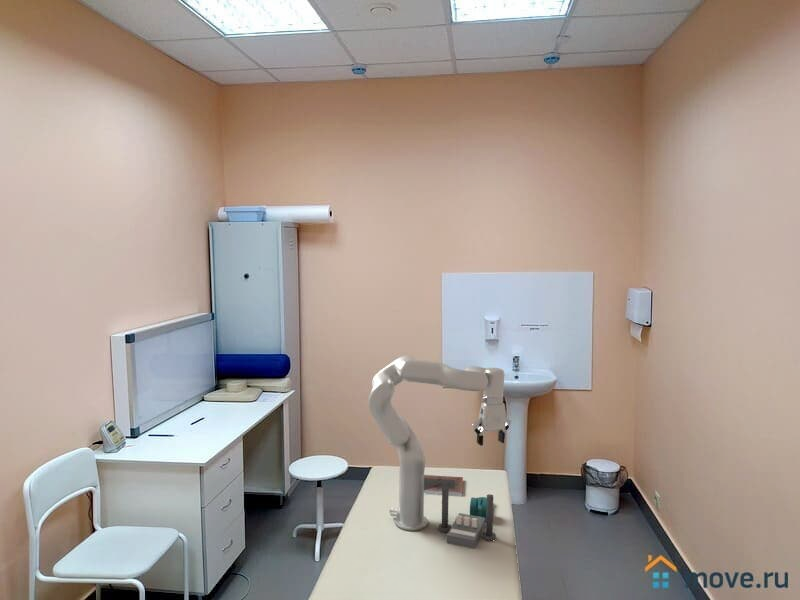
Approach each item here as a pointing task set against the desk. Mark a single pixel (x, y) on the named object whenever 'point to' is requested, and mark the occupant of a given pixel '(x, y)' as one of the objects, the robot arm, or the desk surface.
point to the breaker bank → (466, 521)
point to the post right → (489, 520)
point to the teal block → (478, 507)
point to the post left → (444, 512)
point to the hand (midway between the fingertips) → (490, 443)
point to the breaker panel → (466, 532)
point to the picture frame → (443, 484)
